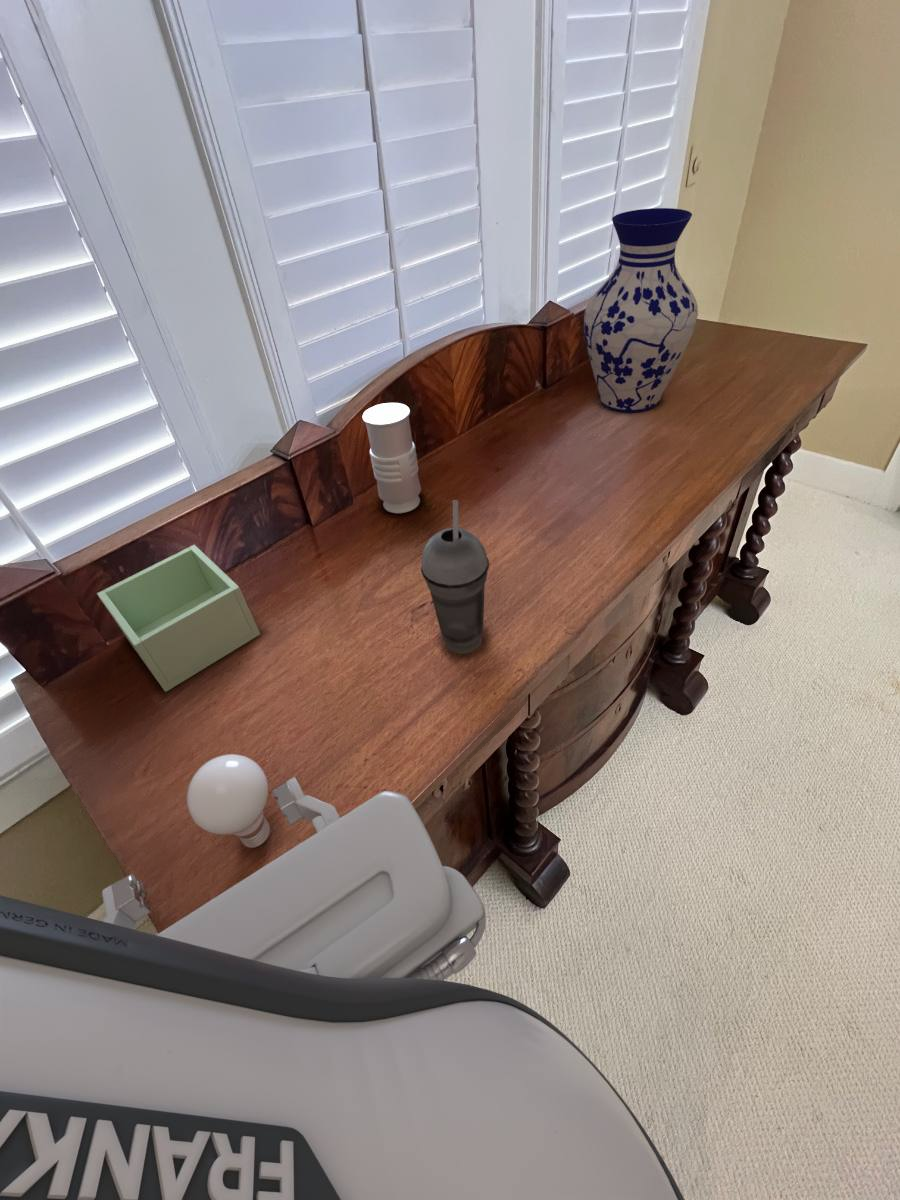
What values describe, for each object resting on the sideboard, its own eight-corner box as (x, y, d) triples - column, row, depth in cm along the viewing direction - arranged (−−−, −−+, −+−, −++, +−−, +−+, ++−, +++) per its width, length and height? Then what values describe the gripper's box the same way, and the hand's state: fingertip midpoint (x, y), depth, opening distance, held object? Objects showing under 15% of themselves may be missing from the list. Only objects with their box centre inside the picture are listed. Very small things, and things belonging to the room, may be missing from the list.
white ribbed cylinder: (393, 520, 89) (375, 429, 79) (372, 501, 94) (353, 412, 84) (431, 504, 92) (419, 413, 82) (409, 486, 96) (395, 398, 86)
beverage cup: (464, 609, 73) (449, 469, 60) (506, 638, 69) (500, 494, 56) (420, 641, 70) (394, 500, 57) (462, 673, 66) (444, 528, 52)
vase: (583, 379, 121) (595, 207, 101) (681, 380, 116) (713, 200, 96) (573, 421, 108) (583, 233, 87) (682, 424, 103) (720, 226, 83)
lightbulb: (210, 842, 54) (158, 779, 46) (266, 792, 57) (226, 726, 50) (249, 887, 50) (200, 827, 43) (306, 831, 54) (270, 767, 46)
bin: (165, 692, 68) (133, 645, 62) (127, 639, 75) (96, 593, 70) (260, 634, 74) (239, 587, 68) (216, 590, 81) (194, 544, 76)
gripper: (500, 907, 25) (359, 706, 34) (-30, 1319, 18) (-27, 926, 27) (509, 958, 29) (380, 766, 38) (81, 1308, 22) (51, 970, 31)
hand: (208, 834), depth 33 cm, fingers open, 8 cm apart
